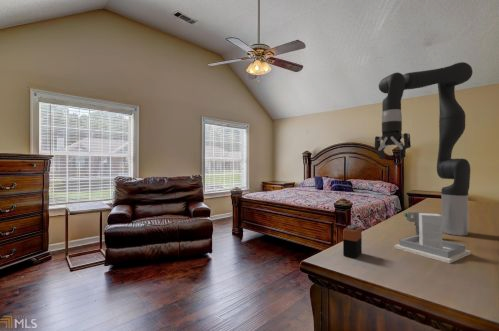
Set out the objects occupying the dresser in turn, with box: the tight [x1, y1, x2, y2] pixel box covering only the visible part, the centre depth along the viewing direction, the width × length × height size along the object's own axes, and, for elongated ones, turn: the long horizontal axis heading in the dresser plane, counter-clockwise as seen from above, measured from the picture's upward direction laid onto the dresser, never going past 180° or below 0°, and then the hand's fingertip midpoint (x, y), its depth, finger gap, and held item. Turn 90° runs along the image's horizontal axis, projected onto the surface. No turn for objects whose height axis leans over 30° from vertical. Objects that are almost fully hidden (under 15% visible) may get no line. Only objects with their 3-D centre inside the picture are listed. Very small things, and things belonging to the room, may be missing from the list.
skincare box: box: [419, 212, 443, 250], centre depth 89 cm, size 6×4×12 cm
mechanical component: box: [403, 211, 431, 235], centre depth 108 cm, size 3×10×10 cm, turn 79°
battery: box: [342, 223, 363, 259], centre depth 86 cm, size 4×7×10 cm, turn 141°
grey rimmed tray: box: [393, 234, 472, 264], centre depth 89 cm, size 16×17×3 cm
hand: (391, 159), depth 108 cm, fingers open, 8 cm apart
